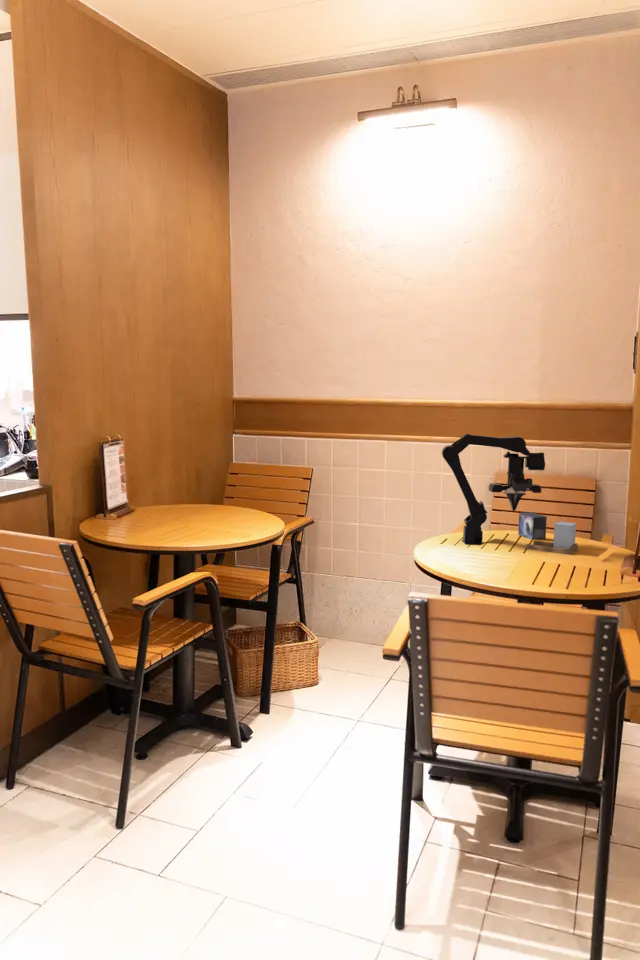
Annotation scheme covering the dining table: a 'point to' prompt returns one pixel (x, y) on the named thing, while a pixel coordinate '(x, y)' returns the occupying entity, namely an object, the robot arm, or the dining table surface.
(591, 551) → the dining table surface
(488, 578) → the dining table surface
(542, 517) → the small box
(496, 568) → the dining table surface
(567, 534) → the block
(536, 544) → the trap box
